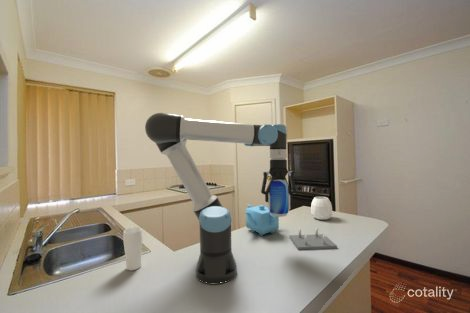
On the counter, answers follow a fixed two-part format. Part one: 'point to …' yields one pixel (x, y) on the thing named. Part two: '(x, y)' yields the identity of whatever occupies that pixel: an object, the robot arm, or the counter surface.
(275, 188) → the beer can
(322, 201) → the cup
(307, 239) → the pegboard
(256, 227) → the teakettle
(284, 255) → the counter surface
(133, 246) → the white cylinder
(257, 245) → the counter surface
